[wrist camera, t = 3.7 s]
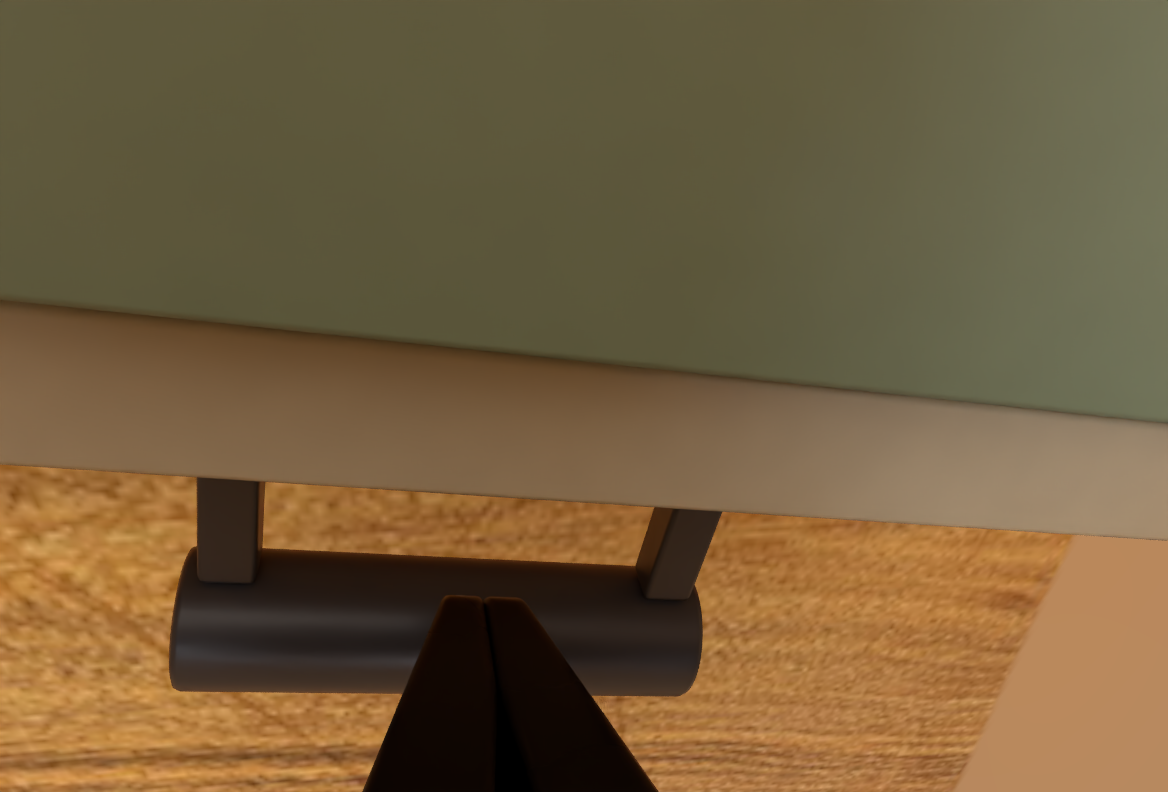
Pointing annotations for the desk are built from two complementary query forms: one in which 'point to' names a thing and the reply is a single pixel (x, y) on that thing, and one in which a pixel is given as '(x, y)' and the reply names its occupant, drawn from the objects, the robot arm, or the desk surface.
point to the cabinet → (617, 182)
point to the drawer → (513, 480)
